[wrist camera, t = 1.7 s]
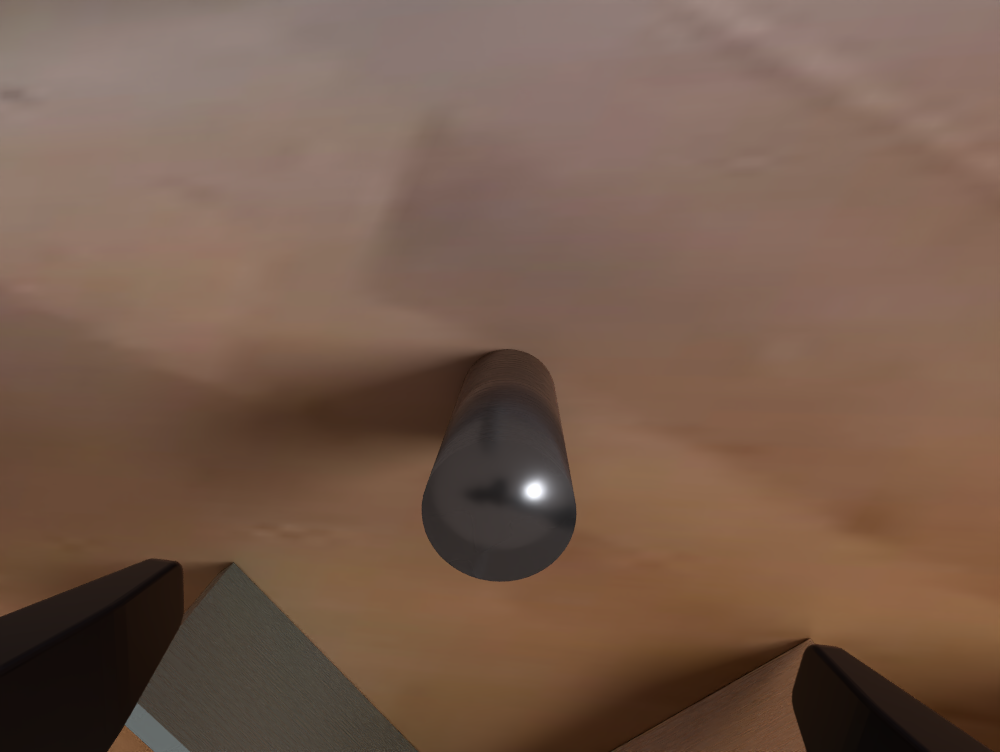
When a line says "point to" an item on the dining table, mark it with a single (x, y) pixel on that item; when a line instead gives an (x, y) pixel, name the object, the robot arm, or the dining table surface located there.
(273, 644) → the hinge fixture
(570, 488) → the hinge pin
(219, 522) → the dining table surface
